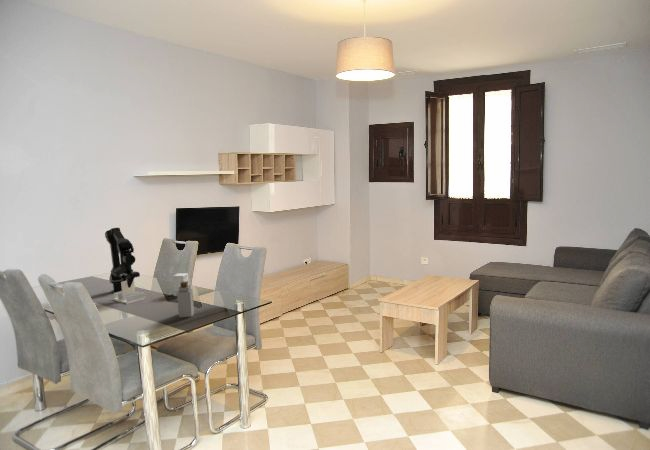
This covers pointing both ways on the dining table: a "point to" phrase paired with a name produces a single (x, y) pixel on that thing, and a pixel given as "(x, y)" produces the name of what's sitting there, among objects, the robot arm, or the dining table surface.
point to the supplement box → (179, 281)
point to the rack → (128, 297)
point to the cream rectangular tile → (125, 288)
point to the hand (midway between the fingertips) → (128, 287)
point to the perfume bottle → (185, 300)
